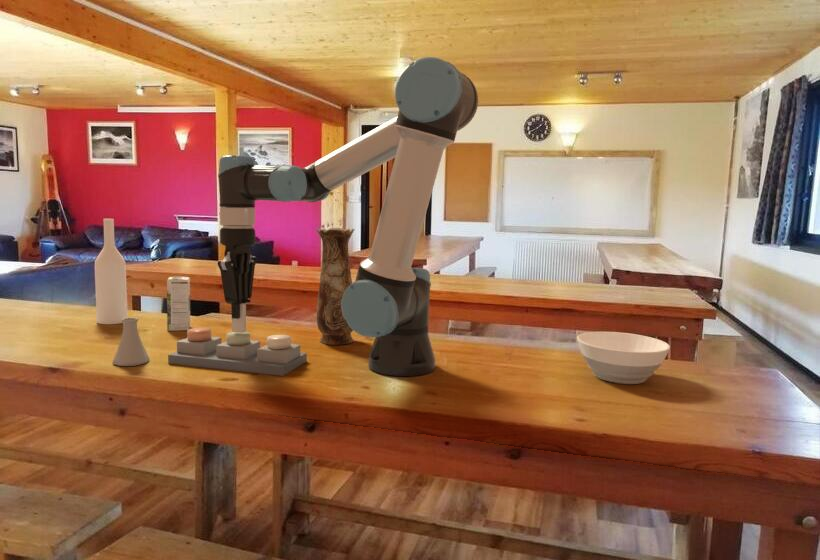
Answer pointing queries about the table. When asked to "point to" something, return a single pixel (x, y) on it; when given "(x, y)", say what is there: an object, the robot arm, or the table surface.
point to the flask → (130, 346)
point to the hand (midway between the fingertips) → (239, 331)
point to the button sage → (238, 338)
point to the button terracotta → (199, 334)
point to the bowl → (622, 355)
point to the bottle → (110, 280)
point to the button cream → (279, 341)
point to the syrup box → (178, 303)
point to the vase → (334, 286)
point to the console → (237, 356)
